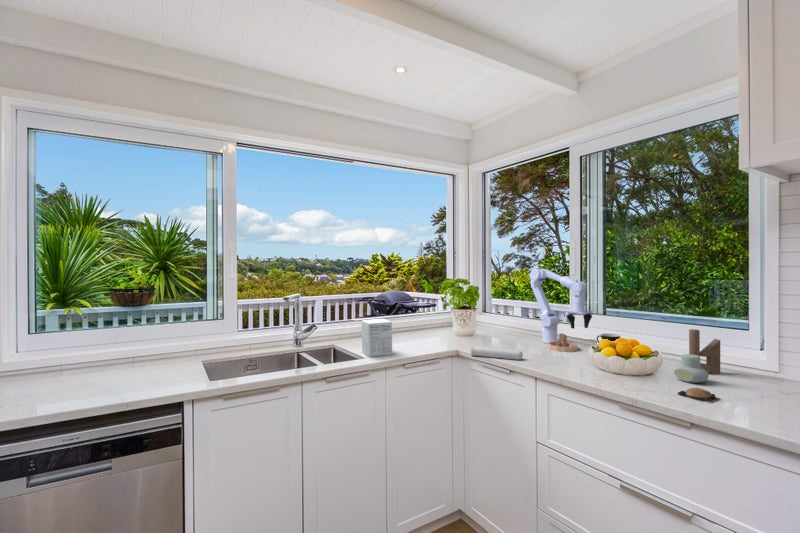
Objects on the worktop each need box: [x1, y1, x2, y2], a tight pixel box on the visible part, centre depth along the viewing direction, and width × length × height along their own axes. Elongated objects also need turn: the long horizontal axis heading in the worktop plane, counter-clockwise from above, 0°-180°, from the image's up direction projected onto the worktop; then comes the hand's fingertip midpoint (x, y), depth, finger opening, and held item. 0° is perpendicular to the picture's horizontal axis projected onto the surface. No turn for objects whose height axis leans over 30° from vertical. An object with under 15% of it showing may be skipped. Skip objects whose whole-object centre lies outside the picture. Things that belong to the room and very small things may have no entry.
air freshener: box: [673, 353, 709, 384], centre depth 154 cm, size 11×8×10 cm
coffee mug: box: [596, 333, 621, 344], centre depth 200 cm, size 12×9×10 cm
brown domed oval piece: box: [677, 387, 721, 404], centre depth 136 cm, size 11×8×4 cm
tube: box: [470, 345, 524, 361], centre depth 196 cm, size 5×5×25 cm
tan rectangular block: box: [558, 333, 568, 347], centre depth 214 cm, size 5×2×7 cm, turn 3°
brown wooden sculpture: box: [688, 328, 721, 375], centre depth 165 cm, size 4×11×18 cm, turn 80°
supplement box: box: [361, 318, 393, 358], centre depth 210 cm, size 13×13×18 cm
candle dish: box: [547, 340, 579, 353], centre depth 214 cm, size 15×15×3 cm
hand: (579, 328), depth 217 cm, fingers open, 7 cm apart
